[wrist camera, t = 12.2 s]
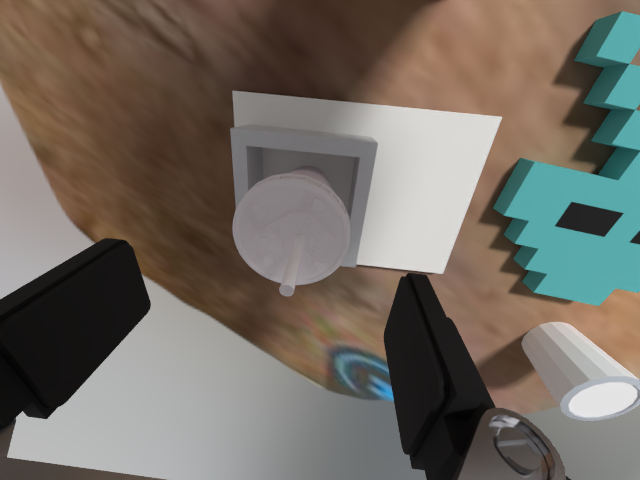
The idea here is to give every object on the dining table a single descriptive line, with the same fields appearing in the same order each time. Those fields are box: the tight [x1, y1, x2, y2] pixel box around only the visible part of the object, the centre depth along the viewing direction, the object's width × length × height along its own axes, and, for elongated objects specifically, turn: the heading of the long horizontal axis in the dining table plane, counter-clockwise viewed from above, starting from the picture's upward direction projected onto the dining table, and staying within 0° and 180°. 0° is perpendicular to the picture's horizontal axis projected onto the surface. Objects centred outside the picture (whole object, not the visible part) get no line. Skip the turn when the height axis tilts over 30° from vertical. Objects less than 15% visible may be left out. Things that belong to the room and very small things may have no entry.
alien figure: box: [493, 11, 640, 306], centre depth 21 cm, size 20×2×20 cm
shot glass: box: [521, 322, 640, 421], centre depth 26 cm, size 7×7×7 cm
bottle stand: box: [230, 91, 502, 274], centre depth 21 cm, size 14×20×5 cm
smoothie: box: [232, 166, 351, 296], centre depth 16 cm, size 6×6×14 cm
